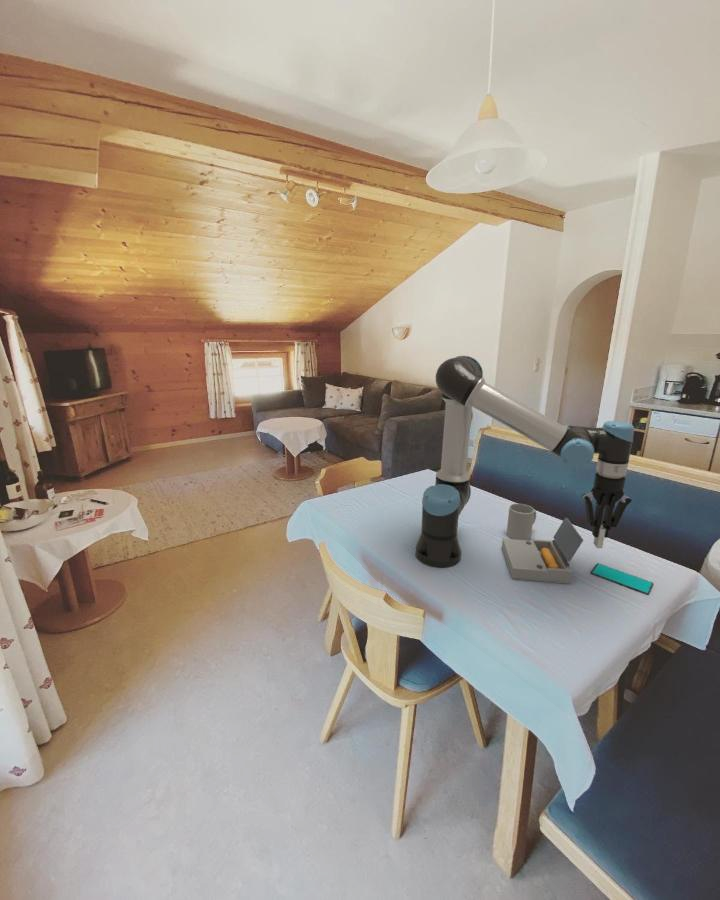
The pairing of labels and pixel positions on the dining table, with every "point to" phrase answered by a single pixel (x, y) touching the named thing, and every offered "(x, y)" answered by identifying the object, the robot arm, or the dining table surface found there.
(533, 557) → the hinged lid box
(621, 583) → the smartphone
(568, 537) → the cover
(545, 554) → the capsule
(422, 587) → the dining table surface
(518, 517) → the mug
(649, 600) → the dining table surface
